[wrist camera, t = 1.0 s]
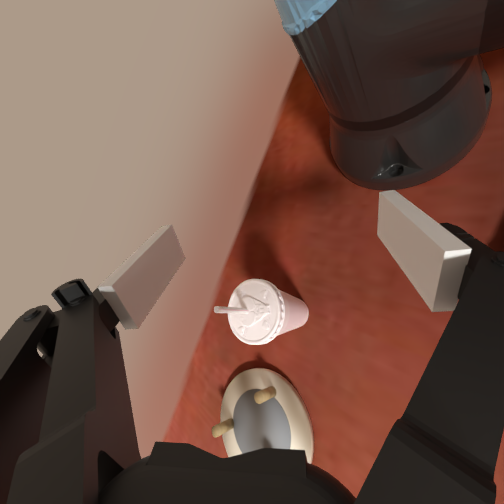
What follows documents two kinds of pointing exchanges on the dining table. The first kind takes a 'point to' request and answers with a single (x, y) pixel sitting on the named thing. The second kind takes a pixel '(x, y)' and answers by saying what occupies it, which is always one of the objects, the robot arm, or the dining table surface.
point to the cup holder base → (264, 415)
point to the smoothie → (262, 312)
